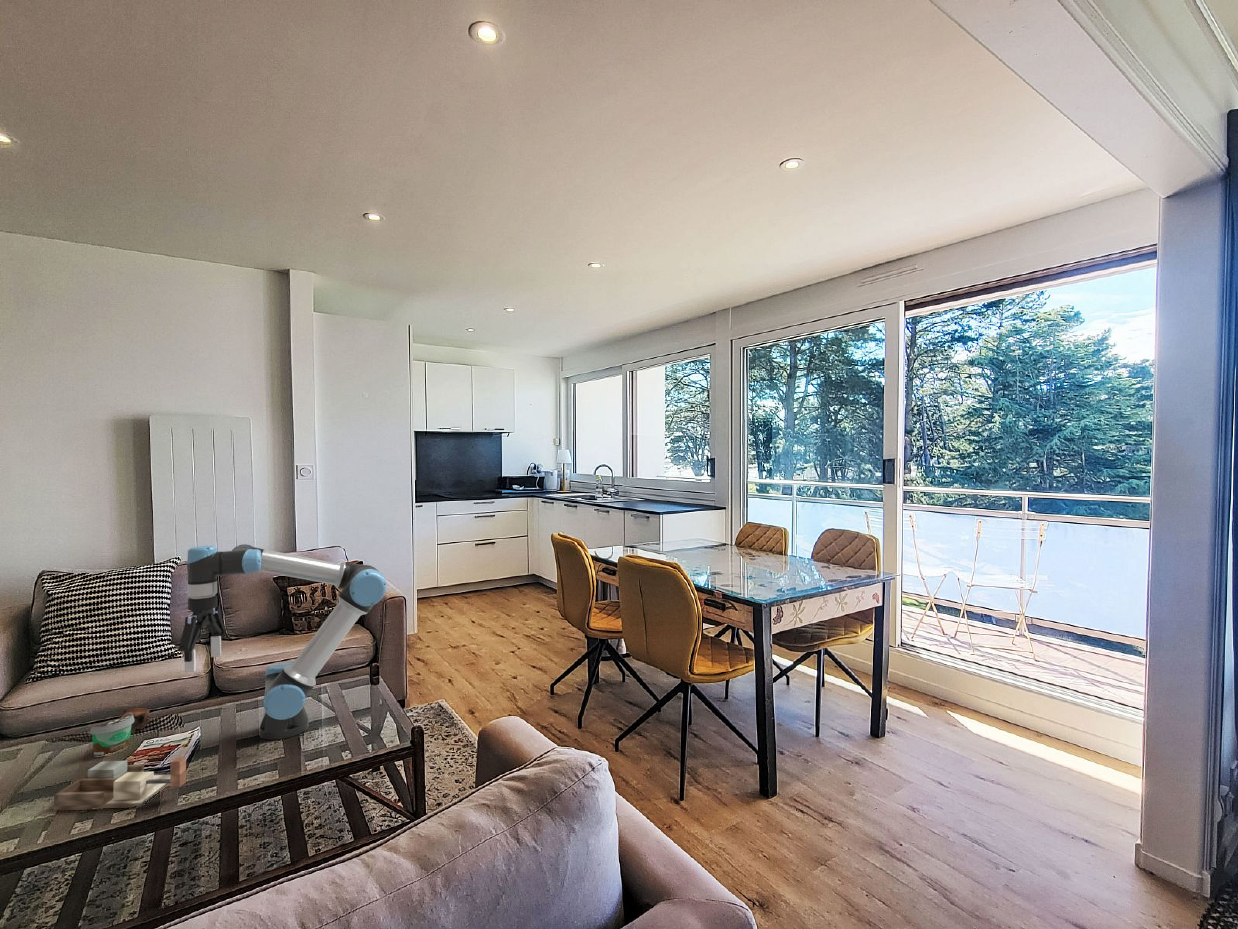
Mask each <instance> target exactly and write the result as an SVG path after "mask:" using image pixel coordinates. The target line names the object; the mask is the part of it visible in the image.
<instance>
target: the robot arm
mask: <svg viewBox="0 0 1238 929" xmlns="http://www.w3.org/2000/svg"><path fill="white" fill-rule="evenodd" d="M217 549H218V548H217V546H215V545H199V546H193V547H191V548H189V549H187V557H186V558H187V560H186V561H187V562H186V568H187V570H186V572H187V574H186V575H187V586H186V587H187V588H186V589H187V596H188V599H187V610H188V611H190V612H192V615H191V616H186V617H185V619H184V626H183V631H182V635H181V638H180V642H179V645H178V651H179V652H184V653H183V656H184V657H183V661H184V665H183V666H184V673H195V672H196V670H197V669H196V666H197V665H196V664H197V663H196V661H197V660H196V659H197V658H196V657H197V656H196V649H194V648H195V646H196V643H197V641H198V639H199V636H200V633H201V631H202V630H203V629H204V628H205V627H206V628H207V629H208V630H209V632H210V633H211V636H210V658H220V657H222V636H225V635H226V630H227V629H226V627H225V624H224V621H223V617H222V615H221V614H222V613H221V609H220V606H218V595H217V594H218V577H219V576H229V575H241V574H242V575H243V574H253V573H259V572H263V573H268V574H273V575H279V576H285V577H290V578H295V579H299V580H300V579H302V580H306V581H312V582H317V583H323V584H328V585H333V586H334V587H335V589H339V590H341V592H340V593H339V594H338V595H337V597H338V603H337V604H336V606H335V607H334V608H333V610H332V611H331V612H330V614H329V615H328V616H327V617H326V618H325V620H324V621H323V623H322V625H321V626H320V627H319V628H318V630H317V631H316V632H315V634H314V635H313V636H312V637H311V639H310V640H309V642H308V643H307V644H306V646H305V647H304V648H303V650H302V651H301V652H300V654H299V655H298V656H297V657H296V659H295V660H294V661H291V662H290V661H289V662H288V661H287V662H282V663H276V664H273V665H270V666H268V667H267V668H266V669H265V674H264V677H265V684H264V685H265V688H264V696H263V697H264V698H263V700H262V706H263V709H264V714H263V716H262V719H261V722H260V725H259V727H258V735H259V737H260V738H261V739H264V740H269V741H270V740H274V741H275V740H282V739H288V738H291V737H294V736H298V735H299V734H302V733H303V732H305V731H306V730H307V729H308V728H309V725H310V724H309V723H310V721H309V720H310V719H309V717H308V714H307V710H306V708H305V704H306V699H307V697H308V696H309V694H310V693H311V692H312V691H313V689H314V688H315V686H316V684H317V683H316V677H317V675H318V674H319V673H320V672H321V670H322V669H323V668H324V666H325V665H326V663H327V662H328V661H329V659H330V658H331V657H332V655H333V654H334V652H335V651H336V650H337V649H338V647H339V645H340V644H341V643H342V642H343V640H344V639H345V637H346V636H347V635H348V633H349V632H350V630H351V629H352V628H353V626H354V625H355V623H356V622H357V621H358V620H359V619H360V617H361V616H363V615H367V614H368V613H369V612H370V611H371V610H372V608H373V606H374V605H376V604H378V603H379V602H381V601H382V599H383V598H384V596H385V594H386V592H387V581H386V578H385V577H384V575H383V574H382V573H381V572H380V571H379V570H378V569H377V567H374V566H373V565H369V564H368V565H367V564H361V563H360V564H359V563H353V562H352V563H351V562H346V561H343V562H341V563H338V562H337V563H336V562H332V561H327V560H322V559H316V558H311V557H306V556H302V555H296V554H291V553H287V552H286V553H285V552H281V551H275V550H271V549H265V548H260V547H255V546H253V545H250V544H245V543H244V544H243V543H242V544H239V545H237V546H235V547H233V549H232V550H229V551H228V550H227V551H226V550H225V551H218V550H217ZM301 732H302V733H301Z"/></svg>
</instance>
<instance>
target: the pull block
mask: <svg viewBox="0 0 1238 929" xmlns="http://www.w3.org/2000/svg"><path fill="white" fill-rule="evenodd" d="M169 769H170V773H169V774H170V779H154V774H155V771H144V772H127V773H126V774H124V775H123V776H121V777H120V778H118V779H117V780H115V781H114V791H113V800H137V799H141V798H143V797H144V796H145V795H147V794H148V793H149V792H151V791H152V790H153V789H154V784H162V783H170V785H169V786H170V788H179V787H182V786H183V785H184V784H185V783H186V782H187V756H176V757H175V758H173V759H172V760H171V761H170V768H169Z"/></svg>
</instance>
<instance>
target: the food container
mask: <svg viewBox="0 0 1238 929" xmlns="http://www.w3.org/2000/svg"><path fill="white" fill-rule="evenodd" d="M118 718H119V717H118ZM118 718H117V719H113V720H110V721H107V722H106V723H104V724H102V725H100V726H91V728H90V730H89V735H91V738H92V748H93V756H101V755H105V754H108V753H113V752H116V751H118V750H120V749H123V748H124V747H126V746H128V745H129V746H130V743H131V742H130V740H131V734H132V733H131V725H132V723H134V716H133V715H132V713H129V712H128V713H127V716H124V717H122V718H119V719H118Z"/></svg>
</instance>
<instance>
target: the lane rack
mask: <svg viewBox="0 0 1238 929" xmlns="http://www.w3.org/2000/svg"><path fill="white" fill-rule="evenodd" d="M127 772H145V764H128V760H104V761H100V762H99V763H97V764H95V765H94V766H93V767H91V768H89V769H88V770H87V774H85V775H84V776H82V777H81V778H79V779H77V780H75V781H74V782H72V783H71V784H69V785H67V786H66V787H64V788H63V789H61V790H60V791H58V792H56V793H55V794H53V810H54V811H87V809H91V810H93V809H92V808H101V809H100V810H104V809H103V808H107V807H108V808H127V807H134V806H137V805H140V804H142V803H143V802H144V801H147V800H148V799H149V798H150V797H152V796H153V795H155V794H157V793H158V792H159V791H161V790H163V789H164V788H165V787H167V786H168V785H169V784H170V783H162V784H154V789H153V790H152V791H151V792H149V793H148V794H147V795H145V796H144V797H143V798H141V799H137V800H113V791H114V781H115V780H117V779H118V778H120V777H121V776H123V775H124V774H126V773H127ZM154 779H170V773H164V774H163V773H159V774H158V773H157V774H155V773H154ZM169 786H170V785H169ZM169 786H168V787H169ZM168 787H167V788H168ZM165 789H166V788H165ZM165 789H164V790H165ZM164 790H163V791H164ZM161 792H162V791H161ZM157 795H158V794H157Z"/></svg>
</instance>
